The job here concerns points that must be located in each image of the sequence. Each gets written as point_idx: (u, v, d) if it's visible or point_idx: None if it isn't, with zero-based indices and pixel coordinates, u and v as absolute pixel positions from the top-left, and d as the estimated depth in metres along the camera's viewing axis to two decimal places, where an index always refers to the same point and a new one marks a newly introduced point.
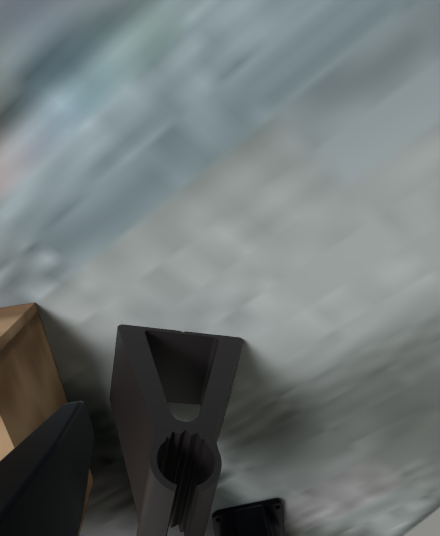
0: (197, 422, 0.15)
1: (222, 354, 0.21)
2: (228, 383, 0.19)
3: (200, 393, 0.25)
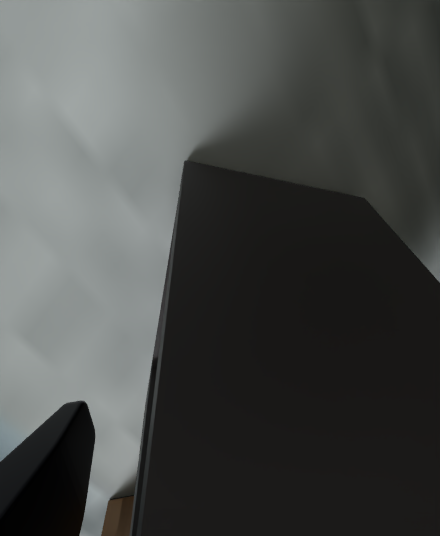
0: None
1: (173, 236, 0.08)
2: (170, 278, 0.05)
3: None
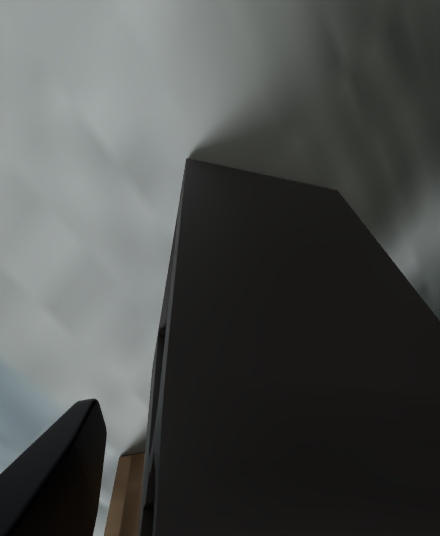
0: (156, 414, 0.05)
1: (178, 219, 0.10)
2: (177, 243, 0.07)
3: None
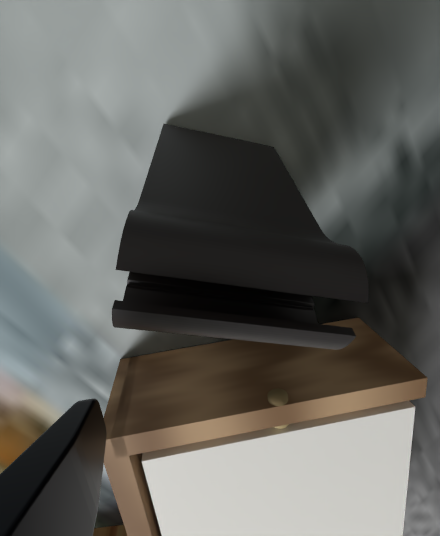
0: None
1: None
2: (151, 162, 0.12)
3: None
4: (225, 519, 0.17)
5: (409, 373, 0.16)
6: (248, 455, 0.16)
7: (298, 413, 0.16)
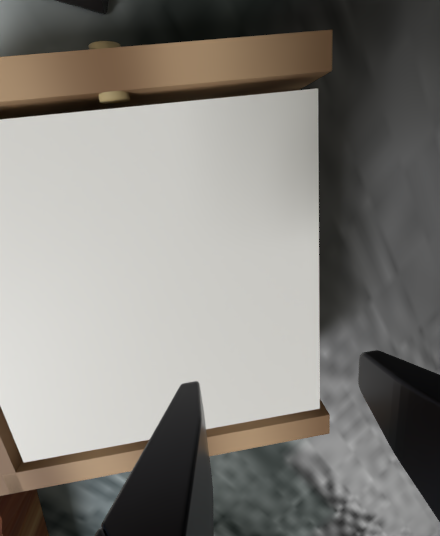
0: None
1: None
2: None
3: None
4: (48, 270, 0.12)
5: None
6: (65, 147, 0.11)
7: (133, 70, 0.10)
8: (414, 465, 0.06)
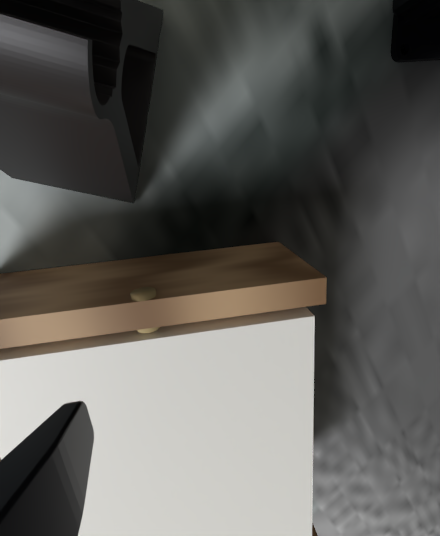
0: None
1: None
2: None
3: (133, 59, 0.15)
4: None
5: (308, 275, 0.14)
6: (107, 367, 0.13)
7: (166, 313, 0.13)
8: None
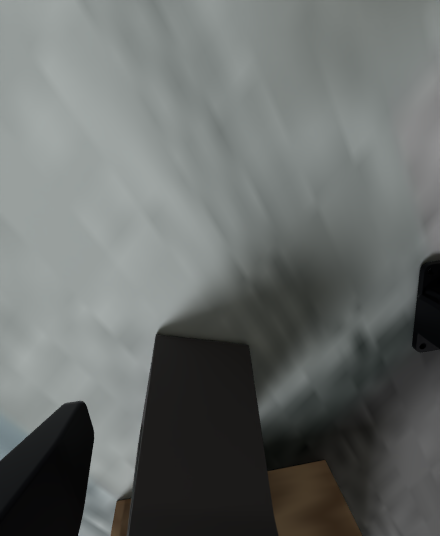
0: None
1: None
2: (143, 423, 0.16)
3: None
4: None
5: None
6: None
7: None
8: None
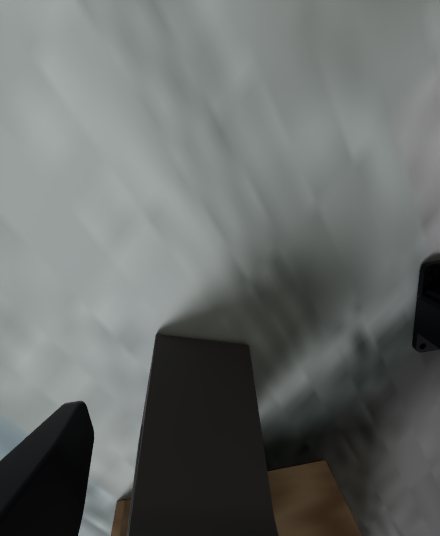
0: None
1: None
2: (143, 424, 0.16)
3: None
4: None
5: None
6: None
7: None
8: None
